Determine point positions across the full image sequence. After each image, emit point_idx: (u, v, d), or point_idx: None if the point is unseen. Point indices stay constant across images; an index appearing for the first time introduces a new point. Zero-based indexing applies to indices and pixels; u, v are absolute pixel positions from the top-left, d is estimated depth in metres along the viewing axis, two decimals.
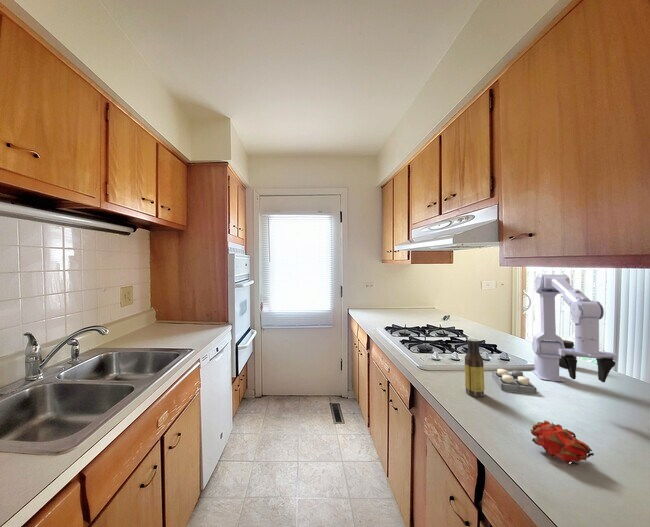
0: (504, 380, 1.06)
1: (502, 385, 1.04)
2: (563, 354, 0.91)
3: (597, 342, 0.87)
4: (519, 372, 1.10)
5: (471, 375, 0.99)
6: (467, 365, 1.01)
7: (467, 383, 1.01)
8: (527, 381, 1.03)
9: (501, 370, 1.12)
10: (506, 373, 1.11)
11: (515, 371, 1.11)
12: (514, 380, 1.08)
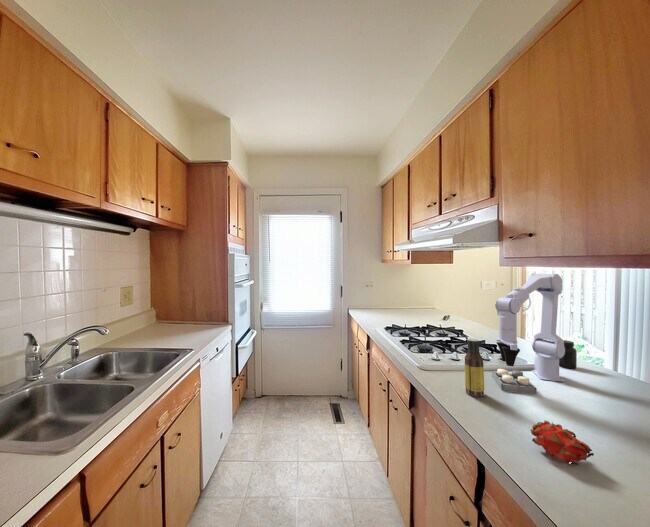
0: (504, 380, 1.06)
1: (502, 385, 1.04)
2: None
3: (502, 330, 1.05)
4: (519, 372, 1.10)
5: (471, 375, 0.99)
6: (467, 365, 1.01)
7: (467, 383, 1.01)
8: (527, 381, 1.03)
9: (501, 370, 1.12)
10: (506, 373, 1.11)
11: (515, 371, 1.11)
12: (514, 380, 1.08)
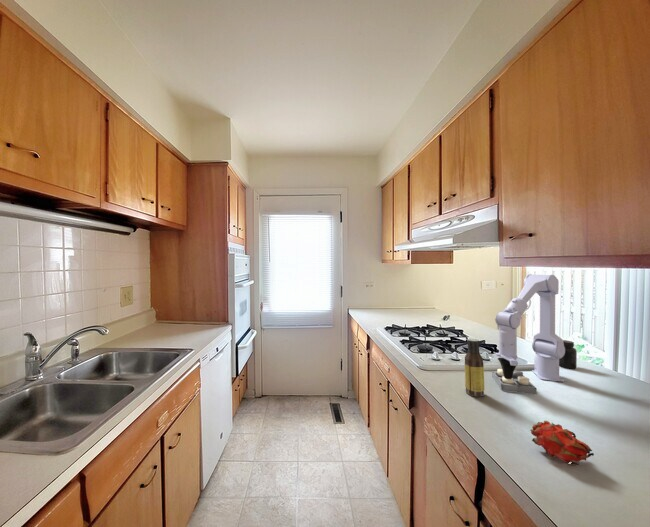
0: (504, 382, 1.06)
1: (502, 385, 1.04)
2: None
3: (502, 345, 1.05)
4: (519, 372, 1.10)
5: (471, 375, 0.99)
6: (467, 365, 1.01)
7: (467, 383, 1.01)
8: (527, 381, 1.03)
9: (501, 370, 1.12)
10: None
11: (515, 371, 1.11)
12: (514, 380, 1.08)
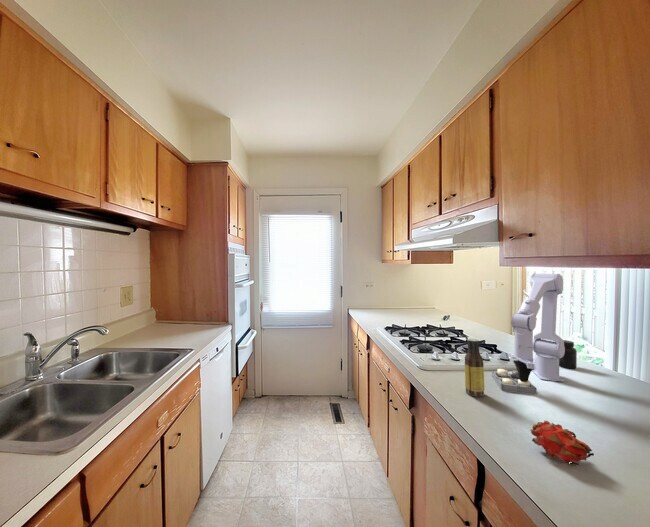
0: (504, 383, 1.06)
1: (502, 385, 1.04)
2: None
3: (518, 348, 1.04)
4: None
5: (471, 375, 0.99)
6: (467, 365, 1.01)
7: (467, 383, 1.01)
8: (527, 384, 1.03)
9: (501, 370, 1.12)
10: (506, 373, 1.11)
11: (515, 371, 1.11)
12: (514, 380, 1.08)
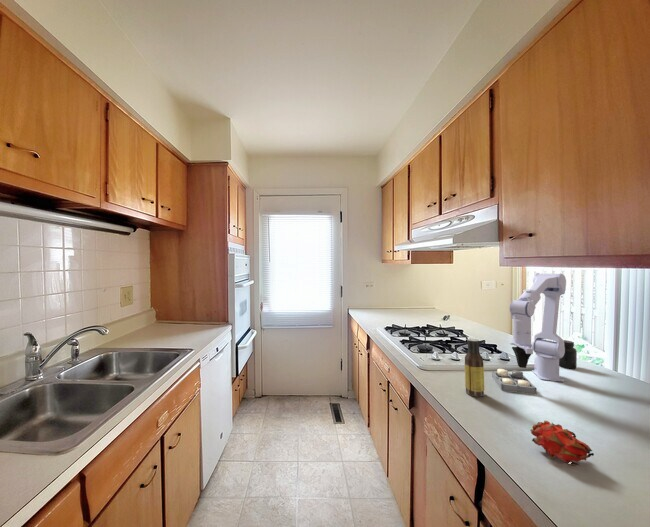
0: (504, 383, 1.06)
1: (502, 385, 1.04)
2: (512, 342, 1.12)
3: (516, 334, 1.04)
4: (519, 372, 1.10)
5: (471, 375, 0.99)
6: (467, 365, 1.01)
7: (467, 383, 1.01)
8: (527, 385, 1.03)
9: (501, 370, 1.12)
10: (506, 373, 1.11)
11: (515, 371, 1.11)
12: (514, 380, 1.08)
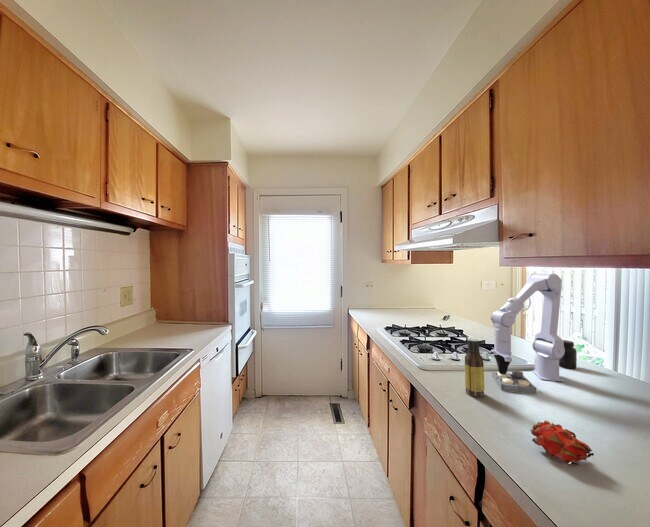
0: (504, 383, 1.06)
1: (502, 385, 1.04)
2: None
3: (497, 342, 1.12)
4: (519, 372, 1.10)
5: (471, 375, 0.99)
6: (467, 365, 1.01)
7: (467, 383, 1.01)
8: (527, 385, 1.03)
9: None
10: (506, 376, 1.11)
11: (515, 371, 1.11)
12: (514, 380, 1.08)
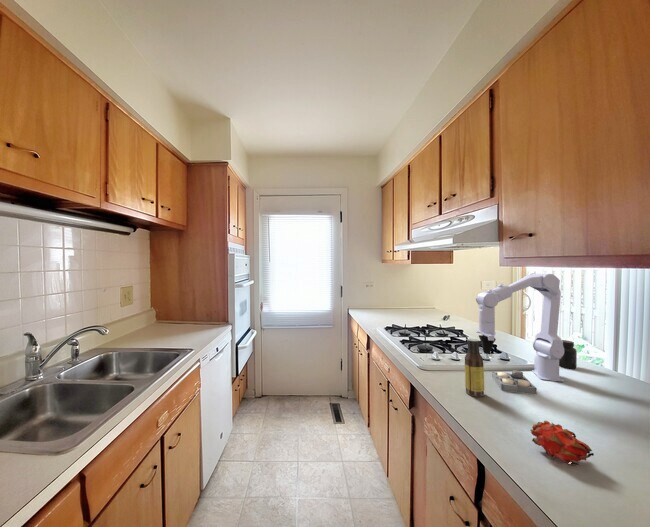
0: (504, 383, 1.06)
1: (502, 385, 1.04)
2: None
3: (481, 323, 1.14)
4: (519, 372, 1.10)
5: (471, 375, 0.99)
6: (467, 365, 1.01)
7: (467, 383, 1.01)
8: (527, 385, 1.03)
9: (501, 373, 1.12)
10: (506, 376, 1.11)
11: (515, 371, 1.11)
12: (514, 380, 1.08)
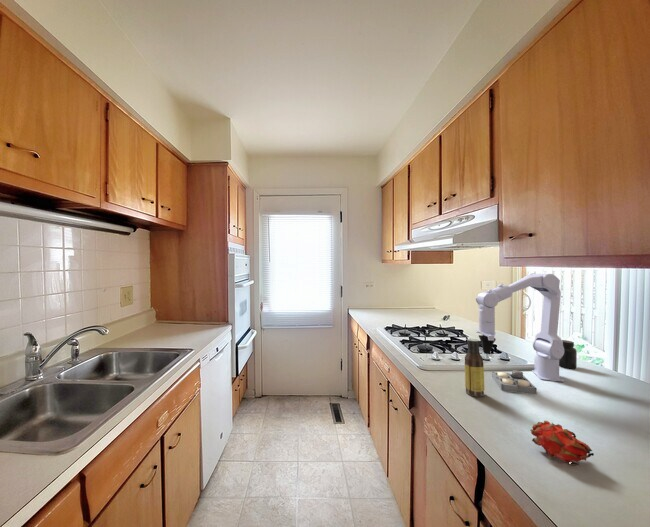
0: (504, 383, 1.06)
1: (502, 385, 1.04)
2: None
3: (481, 323, 1.14)
4: (519, 372, 1.10)
5: (471, 375, 0.99)
6: (467, 365, 1.01)
7: (467, 383, 1.01)
8: (527, 385, 1.03)
9: (501, 373, 1.12)
10: (506, 376, 1.11)
11: (515, 371, 1.11)
12: (514, 380, 1.08)
